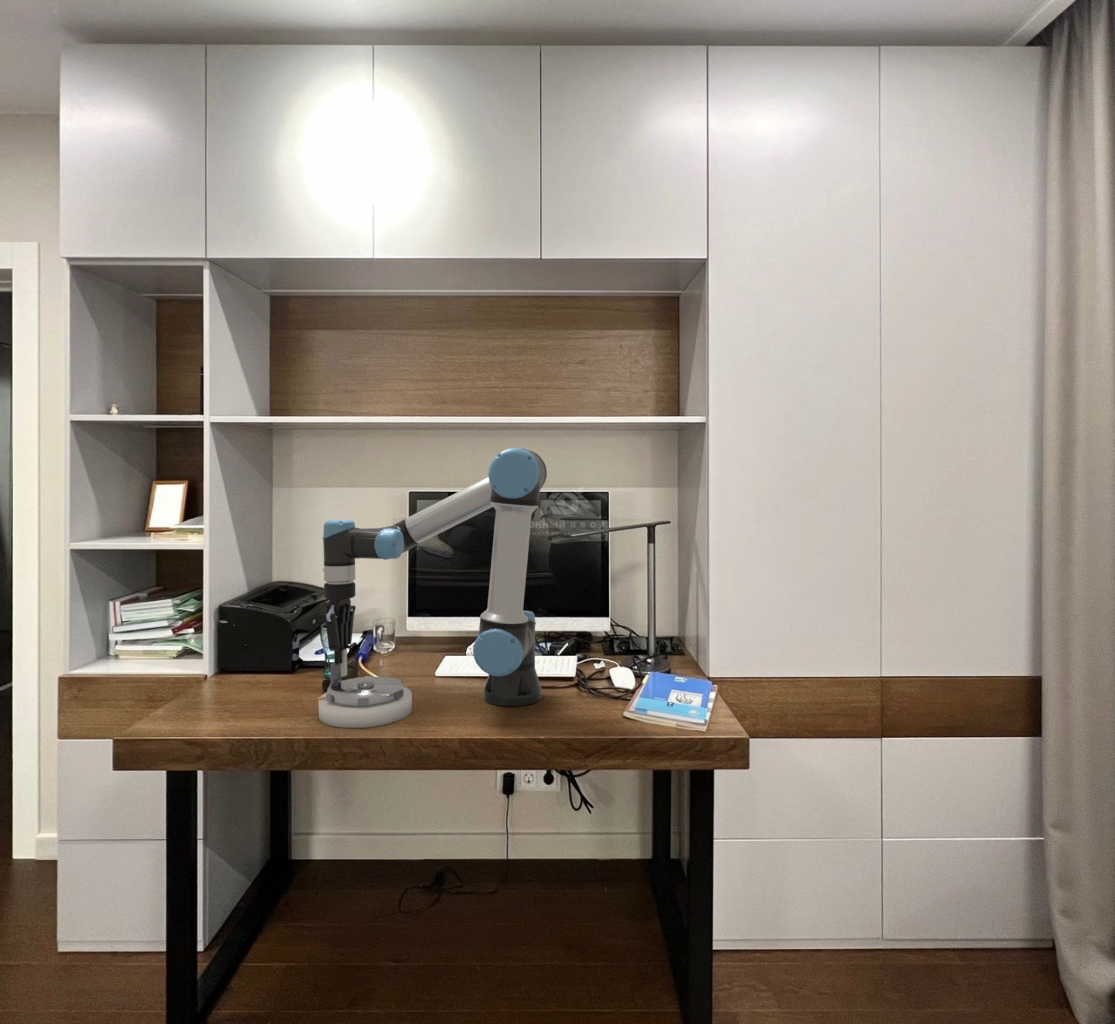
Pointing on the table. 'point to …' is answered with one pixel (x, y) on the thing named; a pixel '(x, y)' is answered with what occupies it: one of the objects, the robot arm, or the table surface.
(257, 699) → the table surface
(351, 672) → the hand tool
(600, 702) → the table surface
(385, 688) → the grey disc with handle
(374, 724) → the housing
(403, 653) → the table surface
